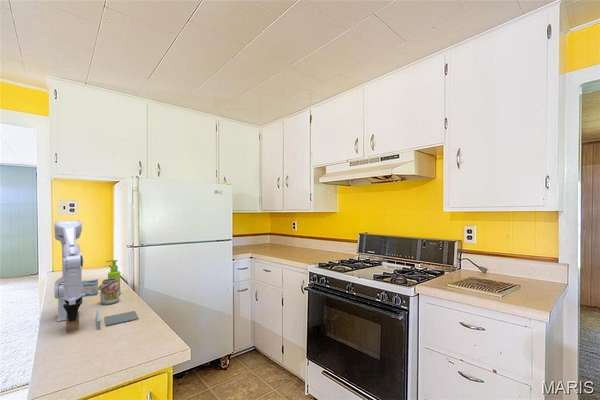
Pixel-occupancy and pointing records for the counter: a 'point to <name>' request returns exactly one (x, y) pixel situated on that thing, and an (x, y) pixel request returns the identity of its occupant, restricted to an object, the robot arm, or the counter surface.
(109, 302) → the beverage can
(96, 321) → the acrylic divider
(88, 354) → the counter surface
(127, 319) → the resting mat
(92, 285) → the medicine box
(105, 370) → the counter surface
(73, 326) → the walnut block
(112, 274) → the soap dispenser
